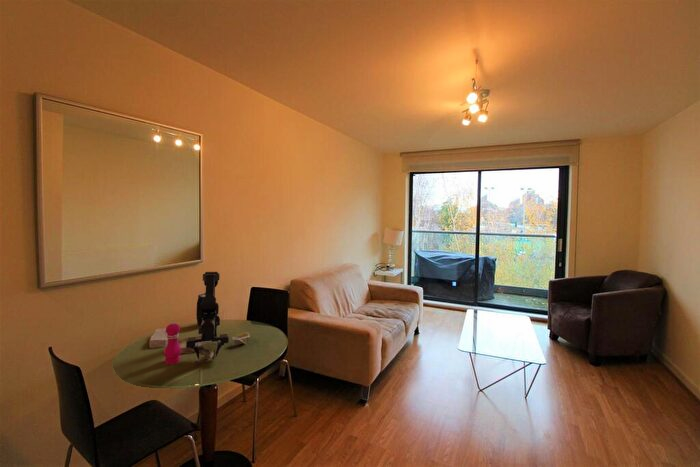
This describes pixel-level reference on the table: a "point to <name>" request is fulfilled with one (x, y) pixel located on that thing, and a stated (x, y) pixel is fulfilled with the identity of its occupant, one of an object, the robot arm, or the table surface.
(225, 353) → the table surface
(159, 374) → the table surface
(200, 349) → the eagle figurine
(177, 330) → the pepper mill
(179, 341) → the plinth
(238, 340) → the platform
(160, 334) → the brick
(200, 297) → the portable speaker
